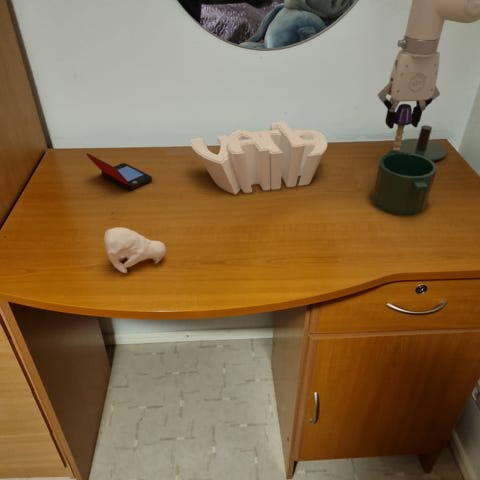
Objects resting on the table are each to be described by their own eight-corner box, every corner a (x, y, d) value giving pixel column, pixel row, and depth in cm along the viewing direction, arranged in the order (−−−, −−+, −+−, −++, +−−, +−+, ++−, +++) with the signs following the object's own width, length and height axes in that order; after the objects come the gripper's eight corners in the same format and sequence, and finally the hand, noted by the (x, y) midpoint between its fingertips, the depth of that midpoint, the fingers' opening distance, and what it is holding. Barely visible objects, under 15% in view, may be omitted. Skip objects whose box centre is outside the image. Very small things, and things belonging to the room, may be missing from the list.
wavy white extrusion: (199, 198, 118) (197, 157, 110) (190, 167, 129) (187, 128, 122) (335, 184, 123) (341, 143, 116) (315, 155, 134) (319, 117, 127)
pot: (409, 181, 124) (418, 146, 117) (438, 219, 111) (451, 181, 104) (361, 184, 123) (368, 148, 116) (386, 223, 110) (395, 185, 103)
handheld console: (154, 181, 124) (150, 153, 119) (120, 196, 118) (114, 168, 113) (124, 165, 130) (120, 138, 125) (90, 179, 124) (84, 152, 119)
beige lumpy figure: (101, 221, 94) (163, 218, 97) (106, 257, 100) (164, 253, 103) (103, 239, 90) (167, 236, 93) (107, 276, 95) (168, 271, 98)
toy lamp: (380, 171, 128) (394, 107, 116) (383, 164, 131) (397, 100, 119) (398, 175, 126) (414, 110, 115) (401, 167, 130) (417, 103, 118)
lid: (432, 140, 142) (439, 116, 137) (453, 161, 132) (461, 136, 127) (388, 143, 140) (393, 118, 135) (405, 164, 131) (412, 139, 126)
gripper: (389, 51, 104) (373, 133, 117) (464, 48, 106) (440, 130, 119) (377, 42, 110) (363, 121, 122) (449, 39, 111) (428, 118, 124)
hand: (401, 125), depth 120 cm, fingers open, 5 cm apart
